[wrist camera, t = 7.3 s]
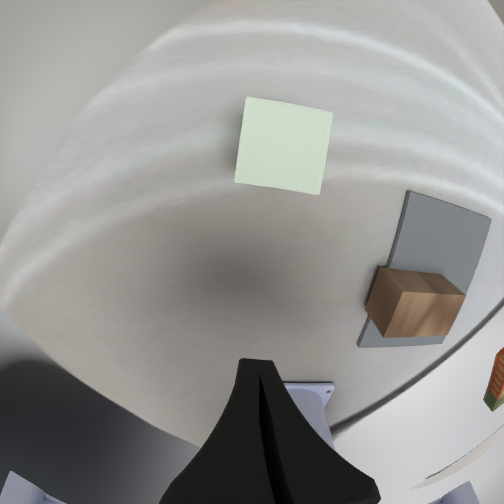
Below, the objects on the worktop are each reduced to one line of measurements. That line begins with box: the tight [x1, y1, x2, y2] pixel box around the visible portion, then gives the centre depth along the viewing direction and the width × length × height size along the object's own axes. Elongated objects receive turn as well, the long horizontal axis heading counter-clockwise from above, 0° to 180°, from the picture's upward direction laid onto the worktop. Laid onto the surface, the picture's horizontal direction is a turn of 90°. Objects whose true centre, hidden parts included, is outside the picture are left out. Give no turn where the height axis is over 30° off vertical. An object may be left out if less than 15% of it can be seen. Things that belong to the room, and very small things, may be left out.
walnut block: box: [365, 267, 466, 338], centre depth 19 cm, size 4×4×7 cm
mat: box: [357, 190, 492, 348], centre depth 21 cm, size 14×11×1 cm
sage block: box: [234, 97, 333, 195], centre depth 14 cm, size 4×4×6 cm
